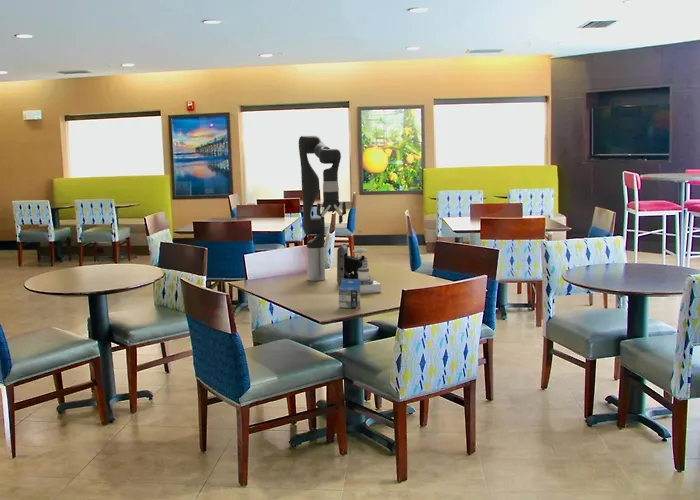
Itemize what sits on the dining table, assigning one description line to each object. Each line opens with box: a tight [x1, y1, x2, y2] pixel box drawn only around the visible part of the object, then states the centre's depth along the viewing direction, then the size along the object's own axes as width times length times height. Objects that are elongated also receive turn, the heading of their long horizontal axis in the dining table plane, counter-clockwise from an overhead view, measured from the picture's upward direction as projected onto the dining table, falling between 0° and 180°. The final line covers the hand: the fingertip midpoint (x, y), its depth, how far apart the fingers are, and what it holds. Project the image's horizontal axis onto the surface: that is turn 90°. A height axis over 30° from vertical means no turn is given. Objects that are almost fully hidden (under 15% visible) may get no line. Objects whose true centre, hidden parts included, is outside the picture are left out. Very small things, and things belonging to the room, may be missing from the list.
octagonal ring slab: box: [348, 278, 382, 295], centre depth 340 cm, size 9×15×6 cm, turn 106°
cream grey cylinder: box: [357, 267, 370, 282], centre depth 340 cm, size 5×5×7 cm
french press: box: [352, 229, 371, 277], centre depth 380 cm, size 10×12×25 cm
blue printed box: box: [338, 279, 361, 310], centre depth 306 cm, size 9×4×12 cm, turn 69°
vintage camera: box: [336, 243, 366, 286], centre depth 360 cm, size 10×16×20 cm, turn 78°
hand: (331, 223), depth 344 cm, fingers open, 8 cm apart
